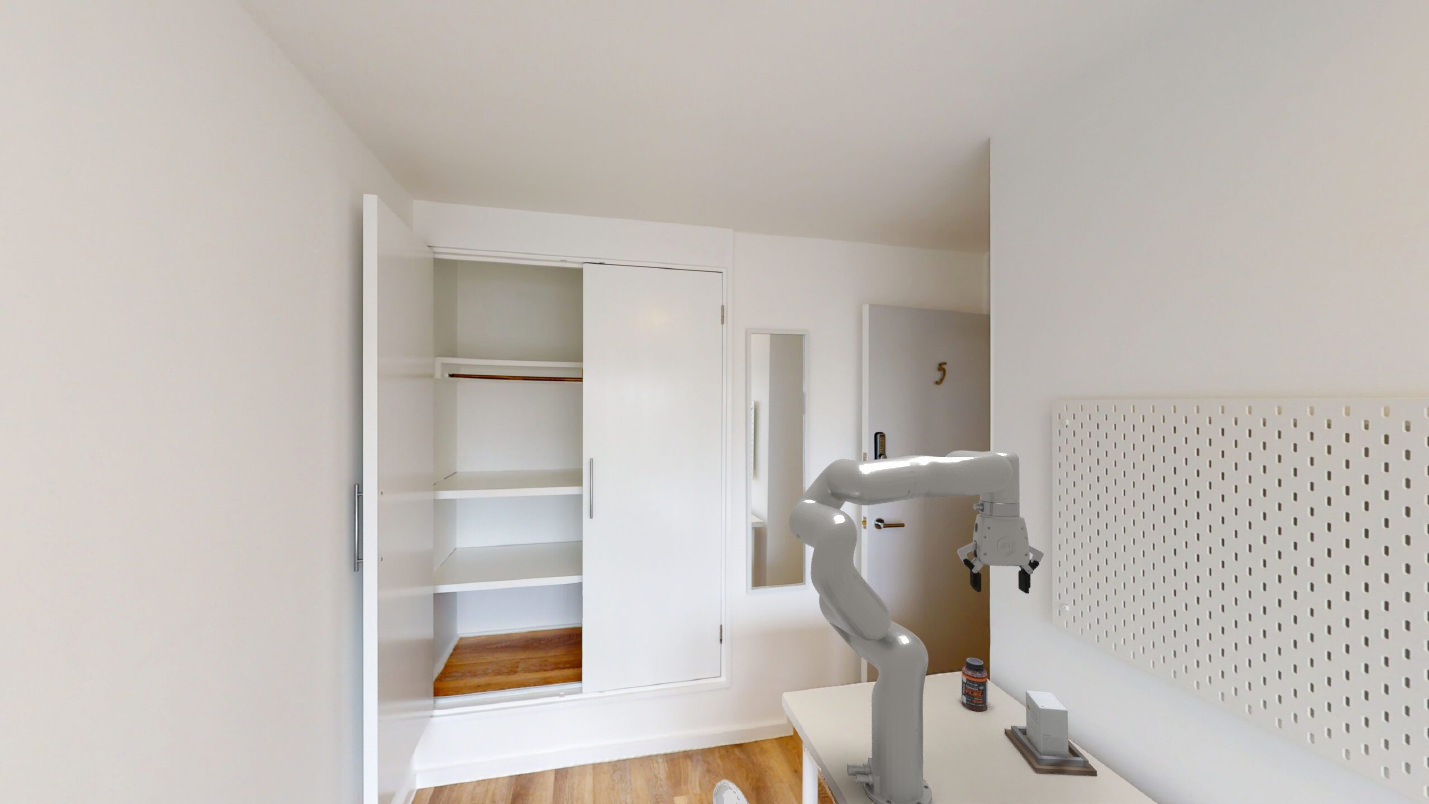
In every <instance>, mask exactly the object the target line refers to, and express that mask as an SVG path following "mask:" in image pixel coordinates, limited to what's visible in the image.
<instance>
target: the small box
mask: <svg viewBox="0 0 1429 804" xmlns="http://www.w3.org/2000/svg"><path fill="white" fill-rule="evenodd" d="M1068 713H1069V712H1068V709H1067V708H1066V707H1065V706H1064V705H1063V704H1062V703H1061V701H1060V700H1059V699H1058V698H1057V697H1056V696H1055V694H1054V693H1052V692H1049V691H1048V692H1046V691H1038V690H1037V691H1036V690H1025V715H1026V716H1025V722H1026V723H1025V724H1026V725H1025V726H1026V733H1027V738H1028V740H1029V741H1030V742H1031V744H1032V745H1033V747H1034V748H1035V749H1036V751H1037V752H1038V753H1039V754H1040V755H1041V756H1061V757H1069V751H1068V740H1069V720H1068V719H1069V718H1068V717H1069V716H1068V715H1069V714H1068Z"/></svg>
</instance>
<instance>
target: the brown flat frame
mask: <svg viewBox="0 0 1429 804" xmlns="http://www.w3.org/2000/svg"><path fill="white" fill-rule="evenodd" d="M1004 735H1005V736H1006V737H1007V739H1008V740H1009V741H1010V742H1011V744H1012V745H1013V746H1014V747H1015V749H1016V750H1017V751H1018V752H1019V754H1020V755H1021V756H1022V758H1023V759H1024V760H1025V762H1026V763H1027V764H1028V765H1029V767H1031V769H1032V770H1033V771H1034V773H1035V774H1048V775H1049V774H1050V775H1067V776H1069V775H1071V776H1087V775H1088V776H1087V777H1089V776H1090V777H1097V776H1098V770H1097V769H1096V768H1094V766H1093V765H1091V763H1090V760H1089V759H1088V758H1087V757H1086V756H1085V755H1084V754H1083V753H1082V752H1081V751H1080V750H1079V749H1078V748H1077V747H1076V746H1075V745H1074V744H1073V743H1072V742H1071V741H1070V740H1069V739H1068V751H1069V757H1061V756H1041V755H1040V754H1039V753H1038V752H1037V751H1036V749H1035V748H1034V747H1033V745H1032V744H1031V742H1030V741H1029V740H1028V738H1027V733H1026V725H1010V729H1008V728H1004Z"/></svg>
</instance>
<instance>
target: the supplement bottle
mask: <svg viewBox="0 0 1429 804" xmlns="http://www.w3.org/2000/svg"><path fill="white" fill-rule="evenodd" d="M965 661H966V663H965V665H964V666H963V667H962V669H961V703H962V705H963V706H964V707H966V708H967V709H969V710H971V711H976V712H984V711H986V710H987V709H988V691H989V689H988V686H989V685H988V683H989V682H988V676H989V675H988V672H987V670H985V669H984V661H983V660H981V659H979V658H976V657H967V658H966V659H965Z"/></svg>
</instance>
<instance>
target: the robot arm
mask: <svg viewBox="0 0 1429 804" xmlns="http://www.w3.org/2000/svg"><path fill="white" fill-rule="evenodd" d="M971 496H979V500H978V502H977V503H973V504H972V505H973V507H972V508H973V510H974V511H978V512H979V514H976V518H975V521H974V527H973V533H972V534H973V535H972V542H970V543H968V544H966V545H963V546H962V547H960V548H958V549H957V550H956V553H957V555H958V557H959V558H960V560H961V562H962V564H963V565H964V566H965V567H966V568H967V569H968V570H969V584H970V587H971V588H972V590H974V591H975V592H976V593H981V592H982V574H981V573H980V570H981V569H982V568H983V567H984V566H990V567H991V566H995V567H1018V568H1020V570H1018V573H1017V576H1018V578H1017V580H1018V583H1017V584H1018V585H1017V586H1018V590H1020V591H1022V593H1024V594H1030V589H1031V582H1032V581H1031V575H1033V574H1034V571H1035V570H1036V568H1038V567H1039V566H1040V562H1041V561H1042V559H1043V558H1044V553H1043V551H1041V550H1039V549H1037V548H1035V547H1033V546H1031V545H1030V543H1029V535H1028V529H1027V526H1026V525H1027V524H1026V520H1025V517H1023V516H1020V515H1021V513H1020V512H1021V510H1020V507H1021V506H1020V503H1021V499H1020V458H1019V456H1018V454H1017V453H1015V452H1011V451H1001V450H1000V451H999V450H989V451H988V450H986V451H978V450H977V451H976V450H961V449H960V450H953V451H951V452H949V453H948V454H946V455H945V457H943V456H941V457H940V456H931V455H917V454H916V455H904V456H903V455H902V456H897V457H896V456H895V457H889V458H882V459H871V460H855V459H849V458H848V459H847V458H839V459H836V460H834V461H833V462H831V463H830V464H829V465H828V466H826V467H825V468H824V469H823V470H822V472H821V473H819V475H818V476H817V478H816V479H815V480H814V481H813V482H812V484H811V485H810V486H809V487H808V488H807V489H806V491H805V492H804V493H803V494H802V496H800V498H799V499H798V500H797V502H796V503H795V504H794V506H793V508H792V510H791V511H790V514H789V517H788V526H789V530H790V532H791V534H792V536H794V538H795V539H796V540H798V541H799V542H801V543H802V544H804V545H807V546H809V547H812V549H813V552H812V555H811V562H810V580H811V583H812V586H813V587H814V588H815V591H816V592H817V593H818V595H819V596H818V603H819V608H820V611H821V614H822V615H823V618H824V619H825V620H826V621H827V622H828V623H829V625H830V626H831V627H832V628H833V629H834V630H835V632H836V633H837V634H838V635H839V636H840V637H841V638H842V640H844V641H845V643H846V644H847V646H849V648H851V650H853V651H854V652H855V653H856V654H857V655H858V656H860V657H861V658H862V659H864V660H865V661H866V662H868V663H869V664H870V665H872V667H874V668H875V669H876V670H877V671H878V675H877V679H876V681H875V683H874V685H873V687H872V692H871V757H868V758H867V763H863V764H862V765H859V764H848V763H847V764H846V765H847V766H846V767H847V768H846V771H847V776H848V777H855V782H856V784H863V789H864V791H865V794H866V795H867V796H868V797H869V798H870V799H871V801H873V802H874V803H875V804H932V802H933V801H932V800H933V792H932V789H931V787H930V785H929V783H928V782H927V781H926V780H925V779H924V687H925V680H926V677H927V670H928V667H929V653H928V649H927V648H926V645H925V644H924V642H923V641H922V640H921V638H920V637H918V636H917V635H916V634H915V633H914V632H912V631H911V630H909V629H908V628H907V627H904V626H902V625H900V624H899V623H897V622H895V621H893V620H892V619H891V614H890V610H889V608H888V606H887V605H886V604H885V601H884V600H883V599H882V598H881V597H880V595H878V594H877V592H876V591H875V590H874V589H873V588H872V587H871V585H870V584H869V583H868V582H867V581H866V580H865V578H864V577H863V576H862V575H861V574H860V572H859V571H858V568H856V565H855V563H854V560H855V559H854V557H855V550H856V546H857V542H858V529H857V526H856V524H855V520H853V518H852V517H851V516H850V515H849V514H848V513H846V512H845V511H843V510H841V508H842V507H843V506H844V505H845V503H846V502H847V503H850V504H855V505H859V506H874V505H880V504H881V505H882V504H887V503H892V502H894V503H895V502H900V501H906V500H907V501H908V500H915V499H919V498H920V499H934V498H949V497H950V498H951V497H971ZM971 552H972V556H973V559H972V560H970V559H969V558H968V554H969V553H971ZM1030 554H1032V557H1031V555H1030ZM1030 557H1031V558H1030Z"/></svg>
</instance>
